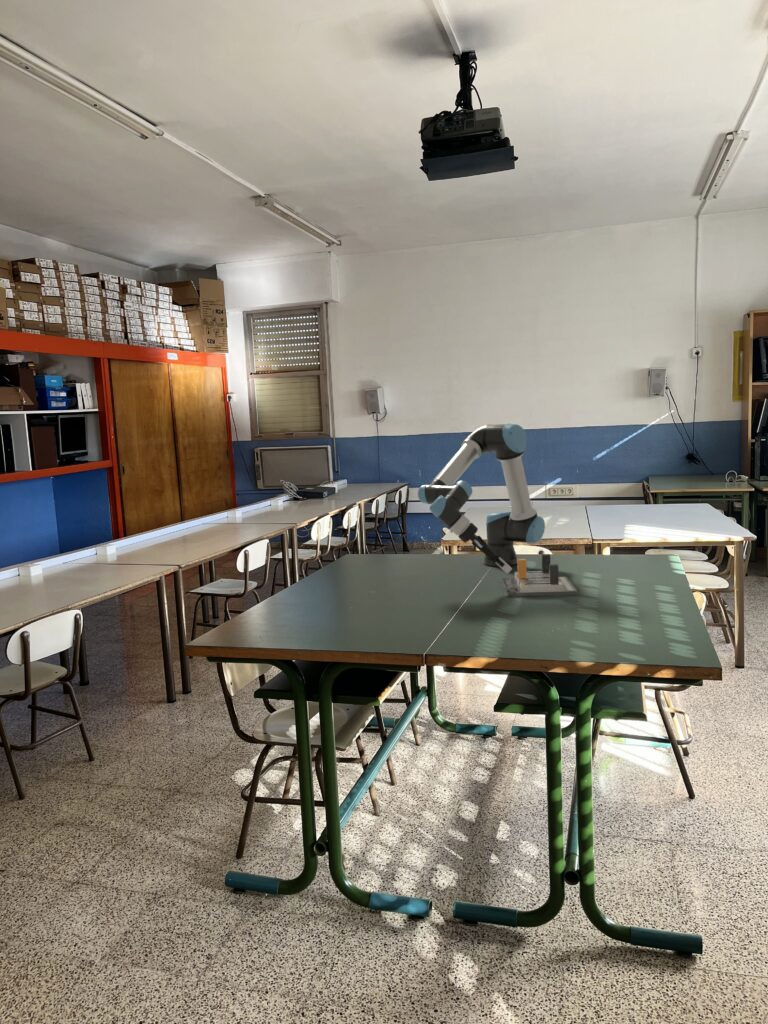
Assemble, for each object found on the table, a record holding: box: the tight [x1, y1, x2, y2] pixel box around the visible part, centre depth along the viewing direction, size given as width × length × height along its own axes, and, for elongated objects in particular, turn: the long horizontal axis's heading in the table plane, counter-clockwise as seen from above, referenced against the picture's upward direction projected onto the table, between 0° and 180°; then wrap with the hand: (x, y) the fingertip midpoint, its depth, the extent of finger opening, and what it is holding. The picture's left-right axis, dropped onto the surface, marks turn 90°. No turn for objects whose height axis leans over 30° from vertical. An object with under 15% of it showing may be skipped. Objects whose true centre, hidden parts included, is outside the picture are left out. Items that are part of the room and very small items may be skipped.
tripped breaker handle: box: [517, 558, 527, 578], centre depth 285 cm, size 2×3×7 cm
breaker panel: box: [501, 553, 578, 598], centre depth 284 cm, size 25×25×11 cm
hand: (509, 571), depth 285 cm, fingers closed
